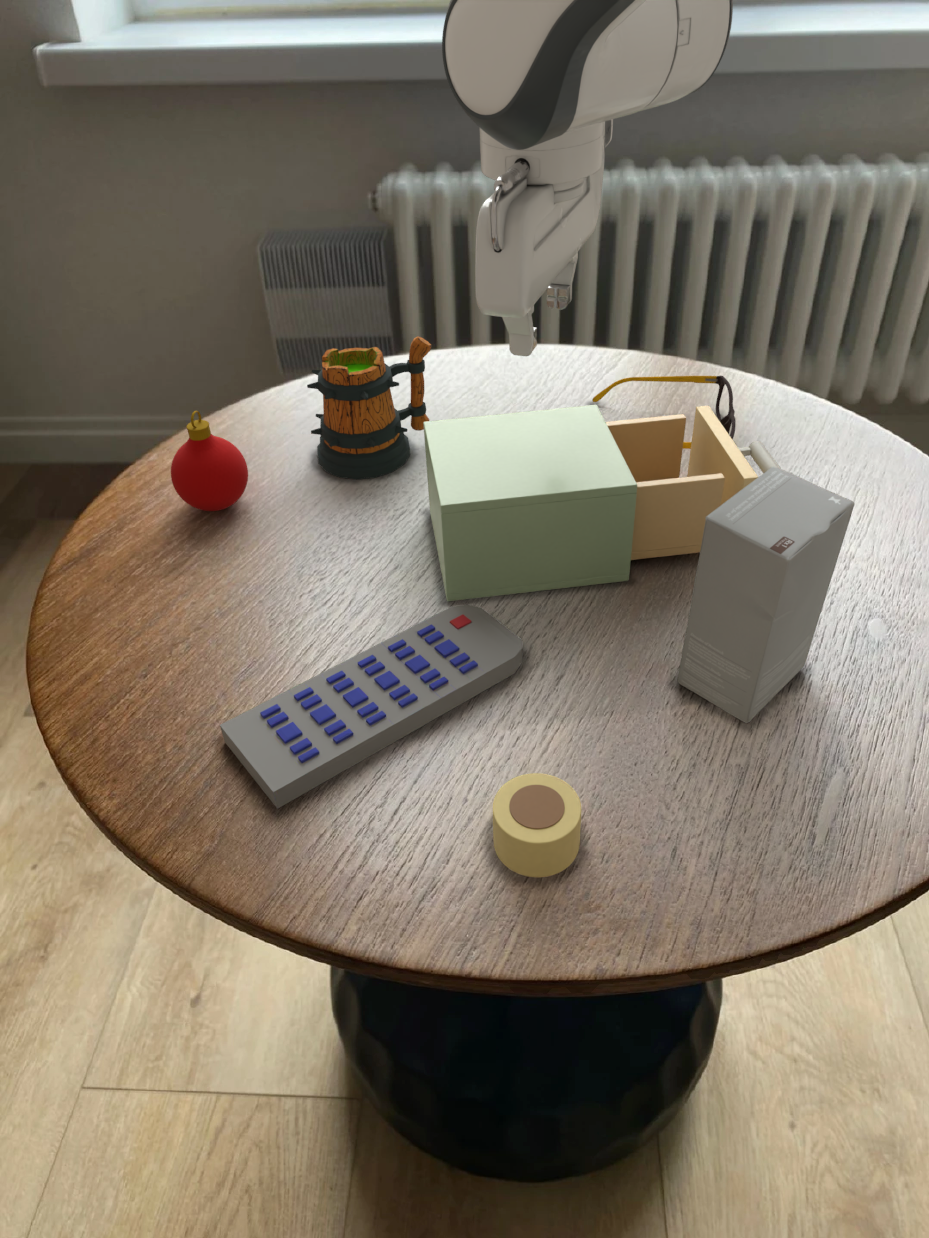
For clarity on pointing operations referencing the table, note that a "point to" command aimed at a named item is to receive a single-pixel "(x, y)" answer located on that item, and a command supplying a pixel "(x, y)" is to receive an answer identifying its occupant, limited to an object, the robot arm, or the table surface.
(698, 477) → the drawer
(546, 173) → the robot arm
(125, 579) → the table surface
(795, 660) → the cosmetic box
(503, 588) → the cabinet
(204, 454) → the christmas ornament
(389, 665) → the remote control
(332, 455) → the mug
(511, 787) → the tape
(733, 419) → the eyeglasses
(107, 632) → the table surface
